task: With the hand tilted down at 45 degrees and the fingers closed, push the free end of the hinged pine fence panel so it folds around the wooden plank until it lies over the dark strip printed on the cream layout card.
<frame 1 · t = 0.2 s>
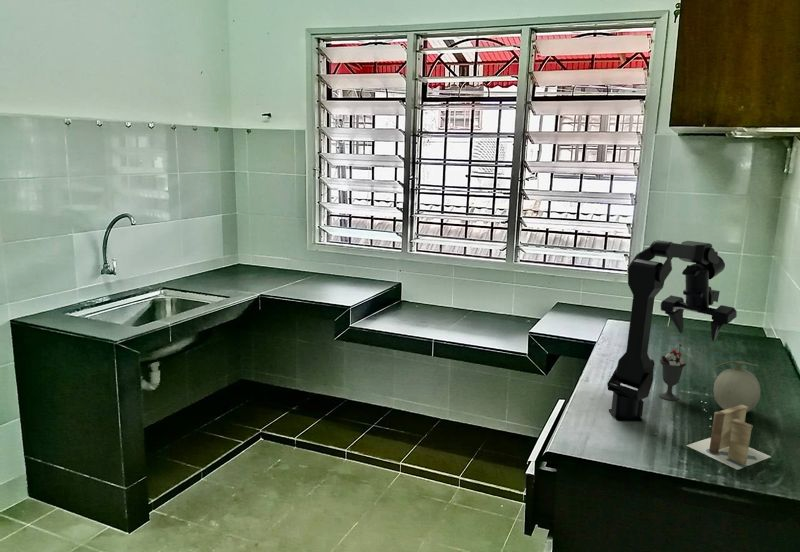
hand: (697, 336, 169), 15 cm above the counter, tool pointing down, fingers open, 9 cm apart
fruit: (731, 411, 157), on the counter
sundae: (668, 397, 165), on the counter
wooden plank: (713, 452, 133), resting on layout card
fence panel: (731, 427, 135), point 5 cm above the counter, hinge at 0.0°
layout card: (727, 452, 134), on the counter
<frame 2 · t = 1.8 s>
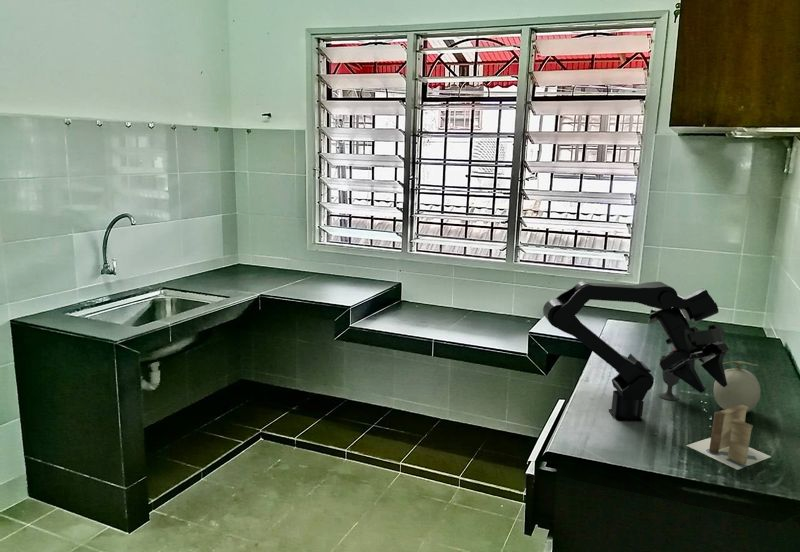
hand: (714, 389, 138), 13 cm above the counter, tool tilted 45°, fingers open, 8 cm apart
nothing on the counter moved.
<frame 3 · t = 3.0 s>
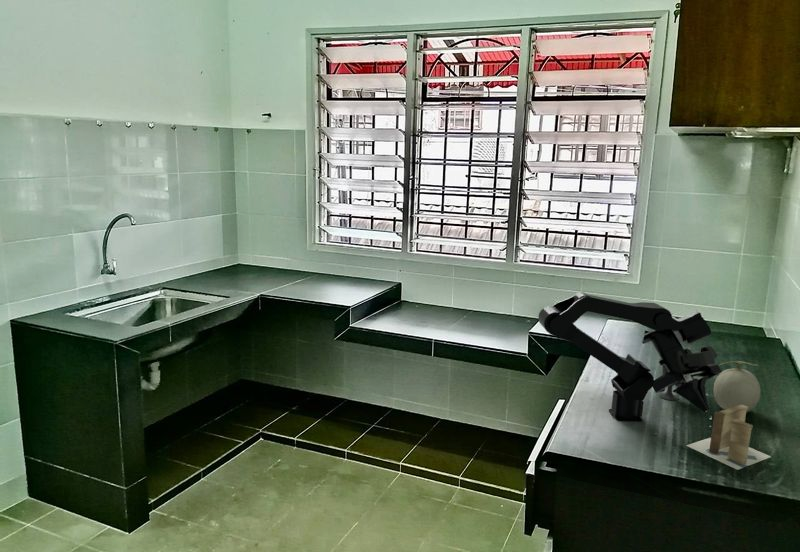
hand: (706, 411, 139), 7 cm above the counter, tool tilted 45°, fingers closed
nothing on the counter moved.
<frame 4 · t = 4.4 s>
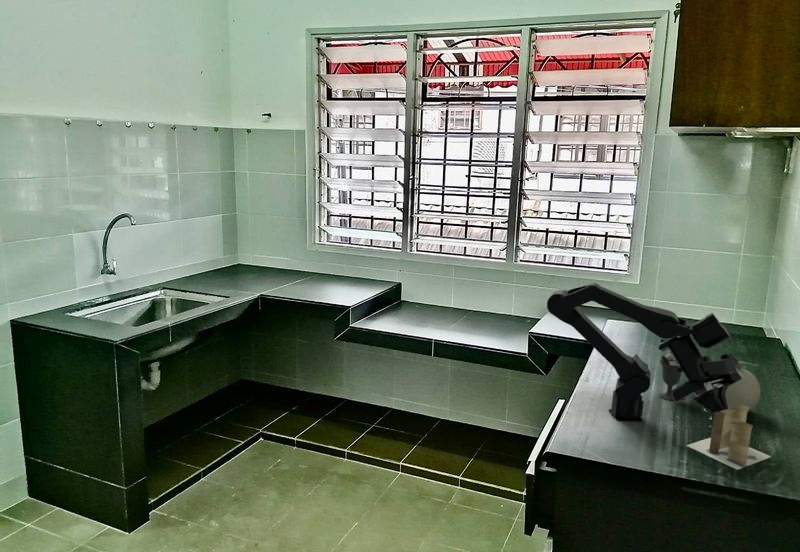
hand: (728, 420, 135), 7 cm above the counter, tool tilted 45°, fingers closed, pressing on fence panel
fence panel: (731, 427, 135), point 5 cm above the counter, hinge at 1.6°, touching gripper
everything else where it was.
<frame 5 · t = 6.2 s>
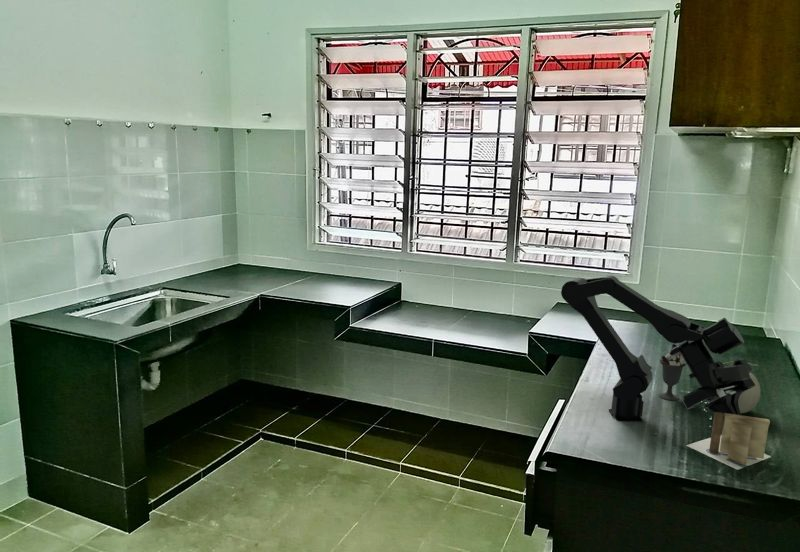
hand: (740, 427, 132), 6 cm above the counter, tool tilted 45°, fingers closed
fence panel: (743, 435, 131), point 5 cm above the counter, hinge at 47.7°
everything else where it was.
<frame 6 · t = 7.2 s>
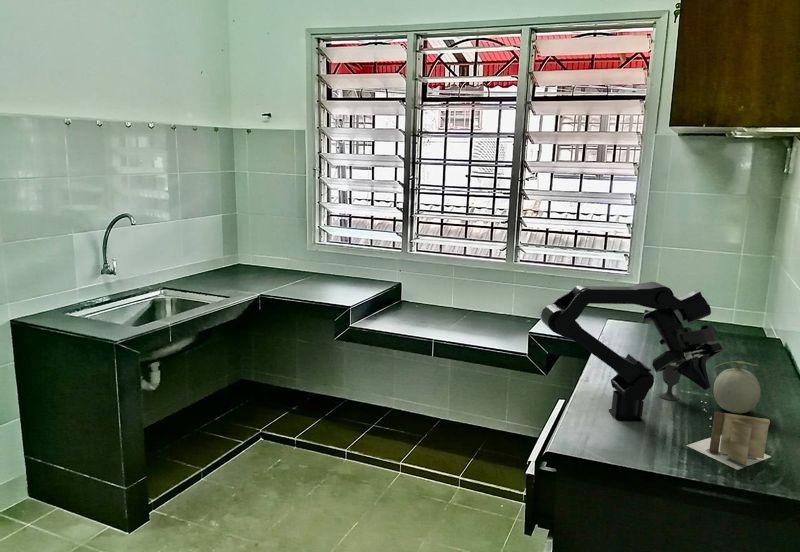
hand: (707, 388, 138), 12 cm above the counter, tool tilted 45°, fingers closed
nothing on the counter moved.
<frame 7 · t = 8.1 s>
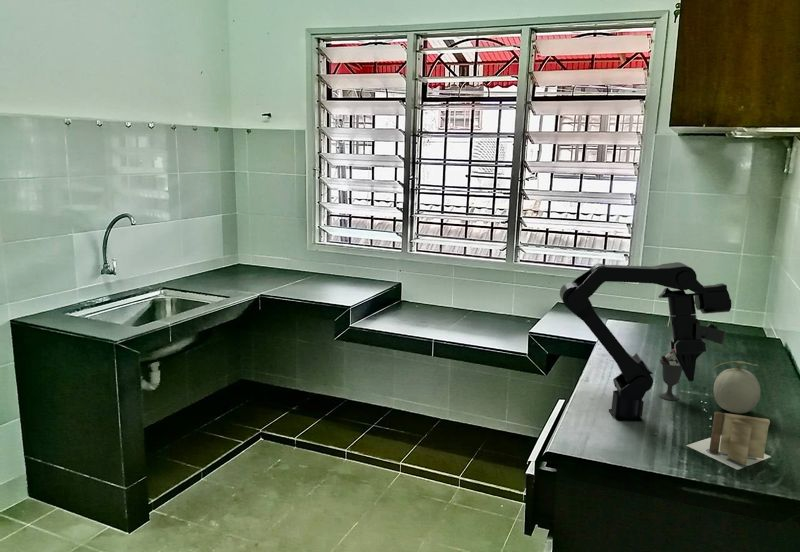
hand: (691, 381, 142), 12 cm above the counter, tool tilted 20°, fingers closed
nothing on the counter moved.
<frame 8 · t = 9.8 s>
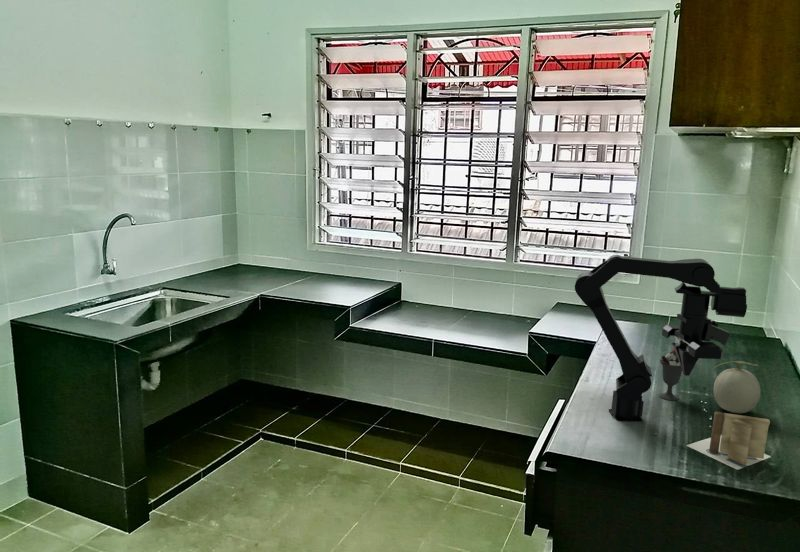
hand: (686, 375, 145), 13 cm above the counter, tool pointing down, fingers closed
nothing on the counter moved.
at the end: fence panel at +48° (first picture: +0°) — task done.
